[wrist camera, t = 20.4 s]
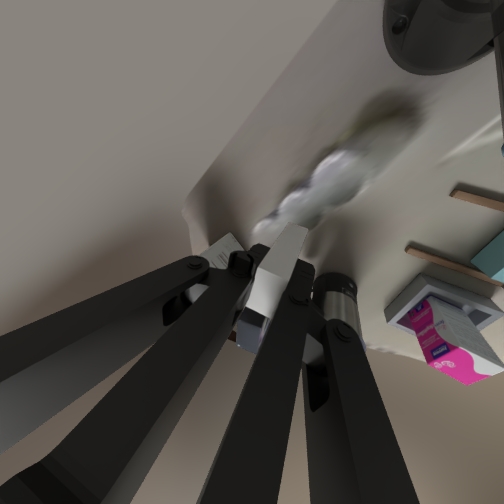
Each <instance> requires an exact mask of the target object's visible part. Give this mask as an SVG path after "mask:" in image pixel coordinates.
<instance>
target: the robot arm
mask: <svg viewBox="0 0 504 504" xmlns="http://www.w3.org/2000/svg"><path fill="white" fill-rule="evenodd" d="M383 36H384V41H385V45H386V48H387V50H388V53H389V55H390V56H391V58H392V59H393V61H394V62H395V63H396V64H397V65H398V66H400V67H401V68H402V69H404V70H406V71H408V72H410V73H413V74H417V75H439V74H444V73H448V72H452V71H455V70H458V69H461V68H463V67H465V66H468V65H470V64H472V63H474V62H476V61H478V60H479V59H481V58H483V57H485V56H486V55H488V54H489V53H491V52H492V51H494V50H495V59H496V69H497V79H498V88H499V98H500V108H501V118H502V128H503V137H504V0H386V1H385V5H384V12H383ZM501 151H502V155H503V157H504V144H503V145H502V147H501ZM308 230H309V229H307V228H304V227H302V226H299V225H296V224H294V223H291V222H289V223H288V224H287V226H286V227H285V229H284V230H283V232H282V233H281V234H280V236H279V237H278V239H277V240H276V242H275V243H274V244H273V246H272V247H271V248H269V247H267V246H265V245H262V244H260V243H259V244H256V245H253V246H252V247H251V248H250V250H249V251H248V252H246V251H241V250H237V251H233V252H231V253H230V256H229V261H228V267H227V268H226V269H218V268H214V267H210V264H209V261H208V260H207V259H206V258H204V257H202V256H197V255H195V256H188V257H185V258H183V259H180V260H178V261H176V262H173V263H171V264H168V265H166V266H164V267H161V268H159V269H157V270H155V271H152V272H150V273H147V274H145V275H143V276H141V277H138V278H136V279H133V280H131V281H129V282H126V283H124V284H122V285H119V286H117V287H115V288H112V289H110V290H108V291H105V292H104V293H101V294H98V295H96V296H94V297H91V298H89V299H87V300H84V301H82V302H80V303H77V304H75V305H73V306H70V307H68V308H66V309H63V310H61V311H58V312H56V313H54V314H51V315H49V316H47V317H44V318H42V319H40V320H37V321H35V322H33V323H30V324H28V325H26V326H23V327H21V328H19V329H16V330H14V331H12V332H9V333H7V334H5V335H2V336H0V454H2V453H3V452H5V451H6V450H7V449H9V448H10V447H12V446H13V445H14V444H16V443H17V442H19V441H20V440H21V439H23V438H24V437H25V436H27V435H28V434H30V433H31V432H32V431H34V430H35V429H36V428H38V427H39V426H41V425H42V424H43V423H45V422H46V421H47V420H49V419H50V418H52V417H53V416H54V415H56V414H57V413H58V412H60V411H61V410H63V409H64V408H65V407H67V406H68V405H70V404H71V403H72V402H74V401H75V400H76V399H78V398H79V397H81V396H82V395H83V394H84V393H86V392H87V391H89V390H90V389H92V388H93V387H94V386H96V385H97V384H98V383H100V382H101V381H103V380H104V379H105V378H107V377H108V376H109V375H111V374H112V373H114V372H115V371H116V370H118V369H119V368H121V367H122V366H123V365H125V364H126V363H127V362H129V361H130V360H131V359H133V358H134V357H136V356H137V355H138V354H140V353H141V352H142V351H144V350H145V349H146V348H148V347H149V346H151V345H152V344H154V343H155V342H156V341H157V342H156V343H155V344H154V345H153V346H152V347H151V348H150V349H149V350H148V351H147V352H146V353H145V354H144V355H143V356H142V358H140V359H139V361H138V362H137V363H136V364H135V365H134V366H133V367H132V368H131V369H130V370H129V371H128V372H127V373H126V374H125V375H124V377H122V378H121V379H120V381H119V382H118V383H117V384H116V385H115V386H114V387H113V388H112V389H111V390H110V391H109V392H108V393H107V394H106V395H105V396H104V397H103V398H102V400H100V401H99V403H98V404H97V405H96V406H95V407H94V408H93V409H92V410H91V411H90V412H89V413H88V414H87V415H86V416H85V417H84V418H83V419H82V420H81V422H80V423H79V424H78V425H77V426H76V427H75V428H74V429H73V430H72V431H71V432H70V433H69V434H68V435H67V436H66V437H65V438H64V439H63V440H62V441H61V443H60V444H59V445H58V446H57V447H55V448H54V449H53V450H52V451H51V452H50V453H49V454H48V455H47V456H45V457H44V458H43V459H41V460H40V461H39V462H37V463H35V464H34V465H32V466H30V467H28V468H26V469H25V470H23V471H21V472H19V473H18V474H16V475H15V476H13V477H12V478H10V479H9V480H8V481H6V482H5V483H4V484H3V485H1V486H0V504H130V503H131V501H132V499H133V497H134V496H135V494H136V492H137V491H138V489H139V487H140V486H141V484H142V482H143V481H144V479H145V477H146V475H147V474H148V472H149V470H150V469H151V467H152V465H153V463H154V462H155V460H156V458H157V457H158V455H159V453H160V452H161V450H162V448H163V447H164V445H165V443H166V442H167V439H168V438H169V436H170V435H171V433H172V431H173V430H174V428H175V426H176V425H177V423H178V421H179V419H180V418H181V416H182V414H183V413H184V411H185V409H186V408H187V406H188V404H189V402H190V401H191V399H192V397H193V396H194V394H195V392H196V391H197V388H198V387H199V386H200V384H201V382H202V380H203V378H204V377H205V375H206V374H207V372H208V370H209V369H210V367H211V365H212V364H213V362H214V360H215V358H216V357H217V355H218V353H219V352H220V350H221V348H222V347H223V345H224V343H225V341H226V340H227V338H228V336H229V335H230V333H231V331H232V330H233V328H234V326H235V324H236V322H237V321H238V319H239V318H240V316H241V314H242V311H243V308H244V306H245V304H246V303H247V304H246V307H248V308H250V309H252V310H254V311H256V312H258V313H260V314H262V315H264V316H266V317H268V318H270V319H271V321H270V323H269V325H268V328H267V330H266V332H265V334H264V338H263V340H262V342H261V345H260V347H259V350H258V352H257V355H256V357H255V360H254V363H253V365H252V367H251V370H250V372H249V375H248V377H247V379H246V382H245V384H244V387H243V389H242V392H241V394H240V397H239V399H238V402H237V404H236V407H235V409H234V412H233V414H232V416H231V419H230V421H229V424H228V427H227V429H226V431H225V434H224V436H223V439H222V441H221V444H220V446H219V449H218V451H217V454H216V456H215V458H214V461H213V464H212V466H211V468H210V471H209V473H208V476H207V478H206V481H205V483H204V485H203V488H202V491H201V493H200V495H199V498H198V500H197V503H196V504H277V500H278V495H279V489H280V484H281V478H282V472H283V466H284V461H285V455H286V450H287V444H288V438H289V433H290V426H291V421H292V416H293V410H294V404H295V398H296V393H297V387H298V381H299V376H300V370H301V364H302V378H303V394H304V409H305V410H304V411H305V426H306V440H307V441H306V442H307V457H308V472H309V488H310V502H311V504H420V503H419V500H418V498H417V495H416V492H415V489H414V486H413V484H412V481H411V478H410V475H409V473H408V470H407V467H406V464H405V462H404V459H403V456H402V453H401V450H400V448H399V445H398V442H397V440H396V437H395V434H394V431H393V429H392V426H391V423H390V420H389V417H388V415H387V412H386V409H385V407H384V404H383V401H382V398H381V396H380V393H379V390H378V387H377V384H376V382H375V379H374V376H373V373H372V371H371V368H370V365H369V362H368V360H367V357H366V354H365V351H364V349H363V346H362V343H361V340H360V338H359V336H358V334H357V332H356V331H355V330H354V329H353V328H352V326H350V325H349V324H348V323H346V322H345V321H342V320H340V319H335V318H333V319H330V320H328V321H327V320H326V319H325V318H323V317H322V316H321V315H319V314H318V313H317V312H316V311H315V310H314V308H313V307H312V302H311V300H310V296H311V291H312V286H313V280H314V275H315V269H314V266H313V265H312V264H310V263H308V262H305V261H303V260H300V259H298V256H299V253H300V251H301V248H302V245H303V243H304V240H305V238H306V235H307V232H308Z"/></svg>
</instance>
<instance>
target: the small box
mask: <svg viewBox="0 0 504 504" xmlns="http://www.w3.org/2000/svg"><path fill="white" fill-rule="evenodd" d="M269 320H270V318H268V317H266V316H264V315H262V314H260V313H258V312H256V311H254V310H252V309H250V308H248V307H245V309H244V310H243V312H242V314H241V316H240V318H239V319H238V321H237V339H236V346H238V347H240V348H242V349H245V350H247V351H250V352H252V353H254V354H257V352H258V350H259V347H260V345H261V342H262V340H263V338H264V334H265V332H266V330H267V328H268V325H269Z"/></svg>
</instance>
